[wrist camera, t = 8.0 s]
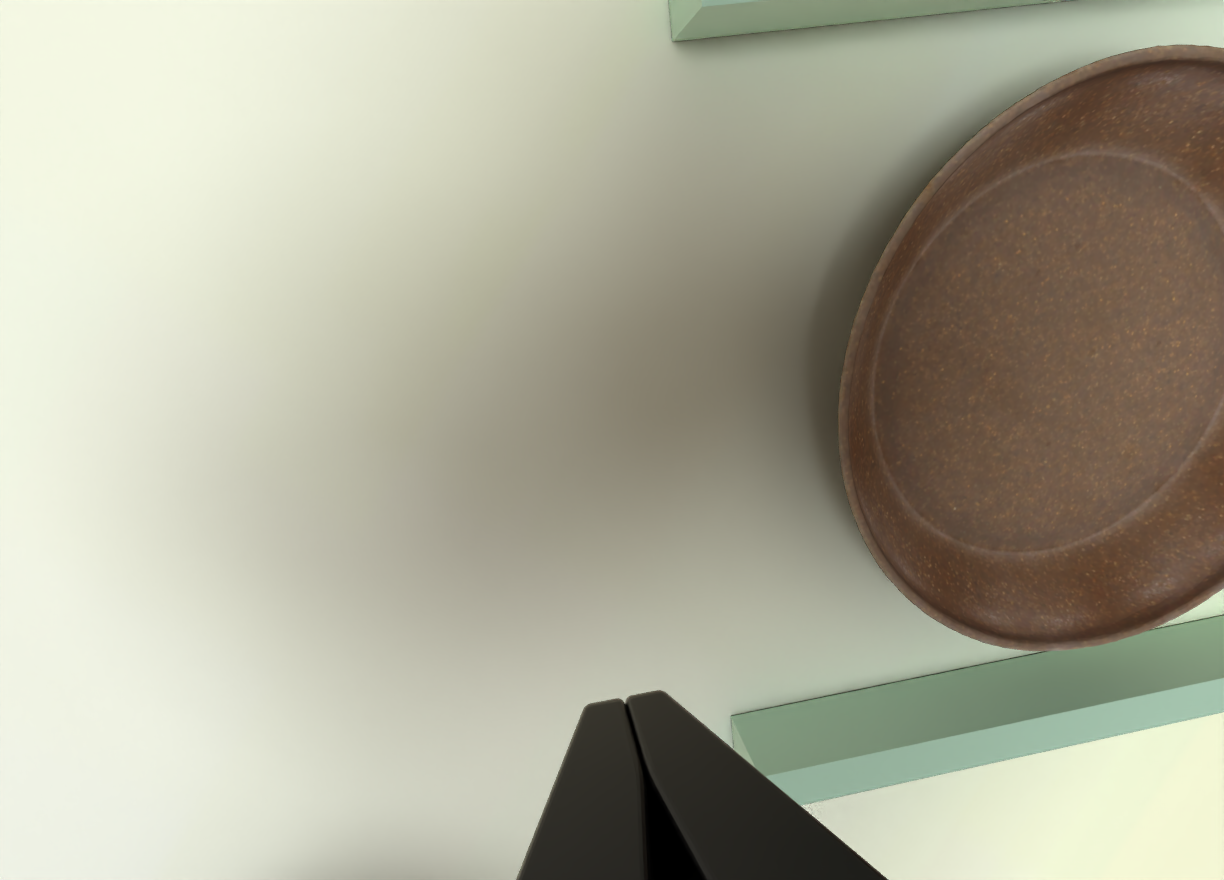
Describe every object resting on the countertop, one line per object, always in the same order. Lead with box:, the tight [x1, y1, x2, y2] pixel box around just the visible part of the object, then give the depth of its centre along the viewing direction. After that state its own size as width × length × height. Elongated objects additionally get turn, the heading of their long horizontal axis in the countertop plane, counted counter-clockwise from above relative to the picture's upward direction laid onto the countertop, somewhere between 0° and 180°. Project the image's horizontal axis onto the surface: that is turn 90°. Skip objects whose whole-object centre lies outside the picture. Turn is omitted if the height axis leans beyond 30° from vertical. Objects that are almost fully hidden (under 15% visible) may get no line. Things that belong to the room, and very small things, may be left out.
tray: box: [669, 0, 1224, 805], centre depth 18 cm, size 20×20×2 cm
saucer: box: [838, 45, 1224, 651], centre depth 18 cm, size 15×15×3 cm
